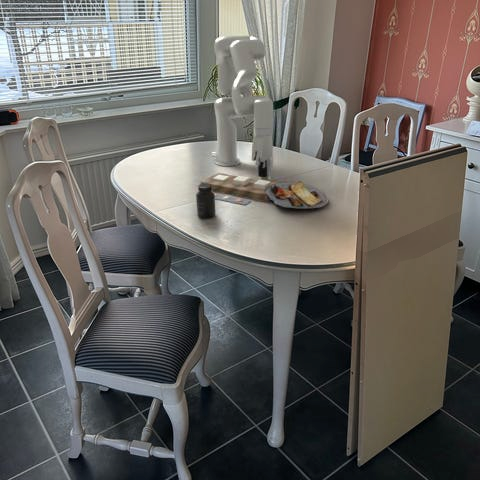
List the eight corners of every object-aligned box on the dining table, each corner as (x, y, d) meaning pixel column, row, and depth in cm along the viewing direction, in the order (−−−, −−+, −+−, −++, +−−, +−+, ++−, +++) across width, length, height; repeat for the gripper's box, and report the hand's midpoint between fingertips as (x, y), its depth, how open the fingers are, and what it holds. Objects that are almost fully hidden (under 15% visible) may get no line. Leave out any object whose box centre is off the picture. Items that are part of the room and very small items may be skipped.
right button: (253, 190, 193) (253, 183, 192) (259, 186, 197) (259, 179, 196) (264, 192, 191) (265, 185, 189) (270, 188, 195) (270, 181, 193)
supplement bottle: (206, 210, 179) (204, 180, 174) (219, 215, 175) (218, 184, 170) (193, 216, 175) (191, 185, 169) (206, 220, 171) (205, 190, 165)
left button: (213, 184, 202) (212, 178, 201) (219, 181, 206) (219, 174, 205) (223, 186, 200) (223, 180, 199) (229, 183, 204) (229, 176, 203)
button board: (200, 188, 201) (200, 181, 199) (218, 179, 212) (218, 172, 210) (267, 201, 187) (267, 194, 185) (282, 190, 197) (282, 184, 196)
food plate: (257, 188, 193) (258, 180, 191) (308, 184, 200) (309, 177, 199) (281, 216, 173) (282, 207, 171) (336, 211, 180) (338, 203, 179)
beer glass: (272, 182, 207) (273, 149, 200) (256, 181, 208) (257, 148, 202) (274, 177, 213) (275, 144, 207) (259, 176, 215) (259, 144, 208)
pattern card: (202, 196, 192) (202, 195, 192) (209, 192, 196) (209, 191, 196) (245, 205, 183) (245, 204, 183) (251, 201, 187) (251, 199, 187)
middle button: (232, 186, 197) (232, 179, 196) (239, 182, 201) (238, 175, 200) (243, 188, 195) (243, 181, 194) (249, 184, 199) (249, 177, 198)
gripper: (263, 126, 190) (263, 170, 198) (245, 134, 179) (245, 180, 187) (280, 128, 187) (278, 172, 195) (262, 136, 175) (262, 183, 183)
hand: (262, 176), depth 191 cm, fingers closed
